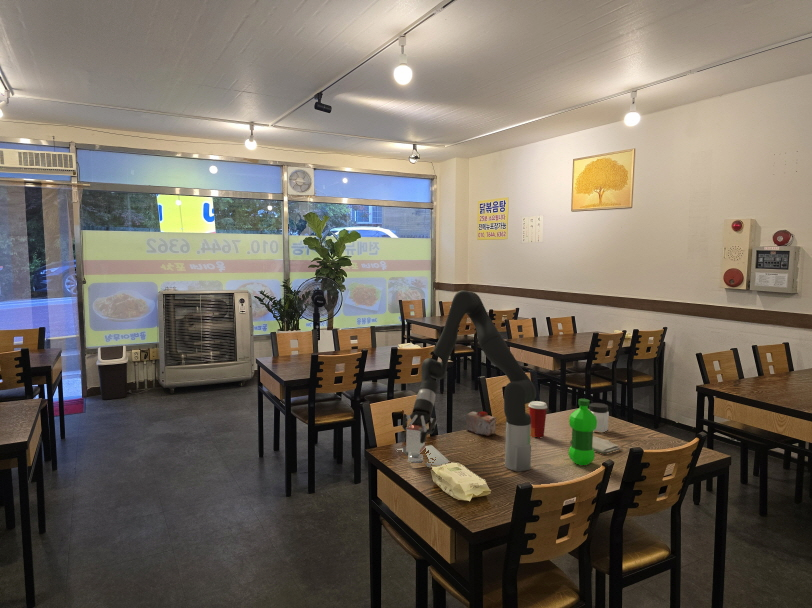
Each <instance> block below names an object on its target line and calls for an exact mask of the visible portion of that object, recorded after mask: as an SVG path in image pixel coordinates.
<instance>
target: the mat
mask: <svg viewBox="0 0 812 608" xmlns="http://www.w3.org/2000/svg"><path fill="white" fill-rule="evenodd" d="M425 448H426V452H427V451H428V450H429V453H427V454H426V455H427V457H428V459H429V462H431V463H428V462H427V463H426V465H427V467H429V468H431V467H430V466H431V464H432V465H441V464H445V463H448V462H451V461H450V460H449V459H448V458H447V457H445V456H444V455H443V454H442V453H441V452H440V451H439V450H438V449H437V448H435V447H434V446H433V445H432V444H429V445H425ZM396 449H397V450H402V452H403V447H401V448H396ZM397 450H396V451H397ZM426 452H425V453H426ZM430 453H431V454H430ZM429 454H430V455H429ZM435 457H436V458H435ZM430 458H433V459H434V460H435V459H436V460H435V461H434V460H432V459H430ZM432 462H434V463H432Z"/></svg>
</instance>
